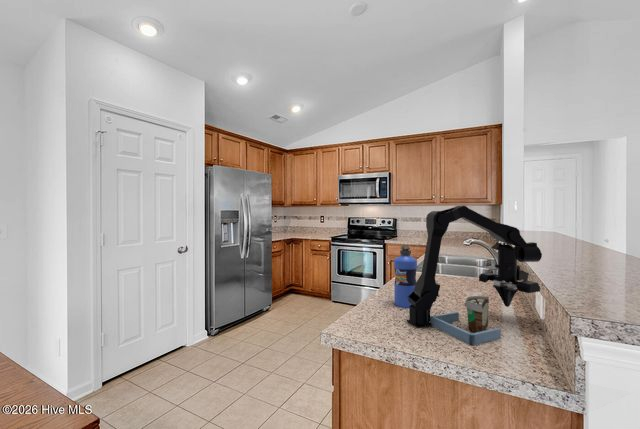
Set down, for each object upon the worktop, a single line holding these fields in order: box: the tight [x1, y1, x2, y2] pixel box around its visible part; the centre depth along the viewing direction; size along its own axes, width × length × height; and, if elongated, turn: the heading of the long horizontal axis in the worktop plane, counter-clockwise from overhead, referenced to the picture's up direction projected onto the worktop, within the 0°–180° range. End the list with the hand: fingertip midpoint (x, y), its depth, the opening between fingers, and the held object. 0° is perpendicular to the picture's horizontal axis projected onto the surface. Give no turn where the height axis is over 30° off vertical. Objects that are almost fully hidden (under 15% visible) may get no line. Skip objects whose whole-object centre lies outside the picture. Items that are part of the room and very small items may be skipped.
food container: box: [464, 295, 490, 333], centre depth 99 cm, size 12×6×10 cm, turn 141°
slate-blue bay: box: [430, 311, 502, 347], centre depth 97 cm, size 12×17×3 cm
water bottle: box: [393, 244, 418, 309], centre depth 125 cm, size 9×9×25 cm
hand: (507, 306), depth 105 cm, fingers closed
